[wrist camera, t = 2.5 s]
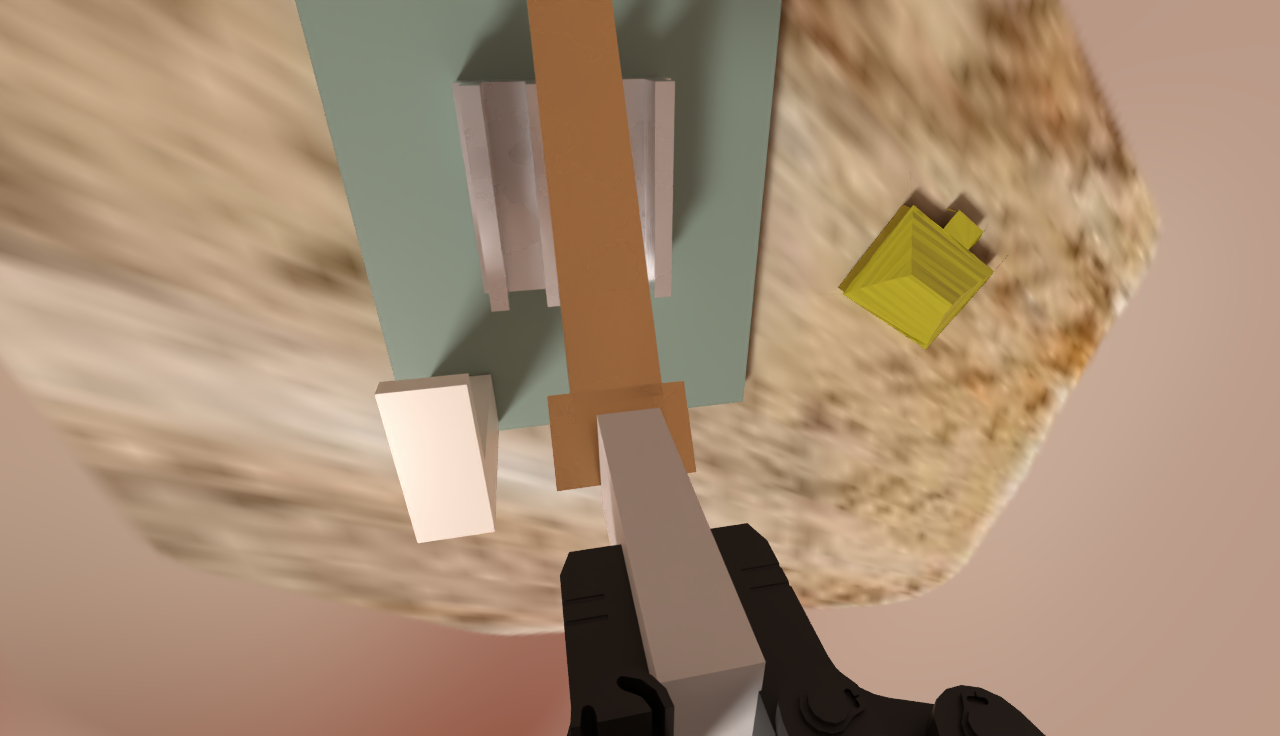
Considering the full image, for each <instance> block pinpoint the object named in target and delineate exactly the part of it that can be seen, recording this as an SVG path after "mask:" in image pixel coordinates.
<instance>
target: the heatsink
mask: <svg viewBox="0 0 1280 736" xmlns="http://www.w3.org/2000/svg"><path fill="white" fill-rule="evenodd" d="M622 81H623V89H624V97H625V104H626V112H627V120H628V127H629V135H630V143H631V150H632V158H633V166H634V173H635V181H636V189H637V196H638V204H639V212H640V219H641V227H642V235H643V242H644V250H645V258H646V265H647V273H648V281H649V289H650V291H651V292H652V294H653V296H654V298H658V297H670V296H671V268H672V214H673V160H674V107H675V81H671V78H666V77H661V76H642V77H622ZM452 89H453V95H454V101H455V108H456V114H457V120H458V127H459V133H460V140H461V146H462V152H463V159H464V165H465V171H466V178H467V184H468V190H469V197H470V203H471V209H472V216H473V222H474V228H475V235H476V241H477V248H478V254H479V260H480V267H481V273H482V279H483V286H484V292H485V294H487V293H489V298H490V304H491V311H492V312H495V311H506V310H510V292H512V291H524V290H537V289H545V291H546V298H547V306H548V307H553V306H560V299H559V290H558V281H557V272H556V263H555V254H554V245H553V236H552V227H551V218H550V209H549V199H548V190H547V181H546V172H545V163H544V154H543V145H542V136H541V127H540V118H539V109H538V100H537V91H536V81H535V79H494V80H456V81H454V82H452Z"/></svg>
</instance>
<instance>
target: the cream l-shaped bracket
mask: <svg viewBox="0 0 1280 736" xmlns="http://www.w3.org/2000/svg"><path fill="white" fill-rule="evenodd" d="M375 397H376V400H377V404H378V407H379V411H380V414H381V418H382V421H383V425H384V428H385V432H386V435H387V438H388V442H389V445H390V449H391V452H392V456H393V459H394V463H395V466H396V470H397V473H398V477H399V480H400V483H401V487H402V490H403V494H404V497H405V501H406V504H407V508H408V511H409V515H410V518H411V522H412V525H413V528H414V532H415V535H416V539H417V542H418V543H422V542H428V541H435V540H442V539H449V538H456V537H462V536H469V535H476V534H483V533H489V532H495V516H496V489H497V463H498V437H499V421H498V415H497V408H496V402H495V396H494V390H493V384H492V378H491V374H488V375H479V376H469V374H468V373H466V374H456V375H446V376H436V377H427V378H417V379H407V380H397V381H387V382H380V383H379V385H378V388H377V390H376V393H375Z"/></svg>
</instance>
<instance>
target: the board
mask: <svg viewBox="0 0 1280 736" xmlns="http://www.w3.org/2000/svg"><path fill="white" fill-rule="evenodd" d="M295 2H296V6H297V9H298V13H299V17H300V21H301V25H302V28H303V32H304V36H305V40H306V44H307V47H308V51H309V55H310V59H311V63H312V66H313V70H314V74H315V78H316V82H317V85H318V89H319V93H320V97H321V100H322V104H323V108H324V112H325V116H326V119H327V123H328V127H329V131H330V135H331V138H332V142H333V146H334V150H335V154H336V157H337V161H338V165H339V169H340V173H341V176H342V180H343V184H344V188H345V192H346V195H347V199H348V203H349V207H350V211H351V214H352V218H353V222H354V226H355V229H356V233H357V237H358V241H359V245H360V248H361V252H362V256H363V260H364V264H365V267H366V271H367V275H368V279H369V283H370V286H371V290H372V294H373V298H374V302H375V305H376V309H377V313H378V317H379V321H380V324H381V328H382V332H383V336H384V340H385V343H386V347H387V351H388V355H389V358H390V362H391V366H392V370H393V374H394V377H395V381H397V380H407V379H417V378H427V377H436V376H446V375H456V374H466V373H468V374H469V376H479V375H488V374H491V378H492V384H493V390H494V396H495V402H496V408H497V415H498V421H499V430H508V429H516V428H524V427H533V426H541V425H550V419H549V409H548V400H547V396H551V395H560V394H569V393H570V390H569V381H568V372H567V363H566V354H565V345H564V336H563V327H562V317H561V308H560V306H553V307H548V306H547V298H546V291H545V289H537V290H524V291H512V292H510V310H506V311H495V312H492V311H491V304H490V298H489V293H487V294H485V292H484V286H483V279H482V273H481V267H480V260H479V254H478V248H477V241H476V235H475V228H474V222H473V216H472V209H471V203H470V197H469V190H468V184H467V178H466V171H465V165H464V159H463V152H462V146H461V140H460V133H459V127H458V120H457V114H456V108H455V101H454V95H453V89H452V82H454V81H456V80H494V79H535V72H534V63H533V54H532V45H531V36H530V27H529V18H528V9H527V0H295ZM612 4H613V12H614V20H615V28H616V35H617V43H618V51H619V58H620V66H621V74H622V77H642V76H661V77H666V78H671V81H675V107H674V160H673V214H672V268H671V296H670V297H658V298H654V296H653V294H652V292H651V291H650V296H651V304H652V312H653V319H654V327H655V335H656V342H657V350H658V358H659V365H660V373H661V381H662V383H668V382H677V381H684V385H685V393H686V400H687V408H692V407H700V406H709V405H717V404H726V403H734V402H742V401H743V397H744V387H745V377H746V366H747V356H748V346H749V335H750V325H751V315H752V304H753V294H754V283H755V273H756V263H757V252H758V242H759V232H760V221H761V211H762V201H763V190H764V180H765V170H766V159H767V149H768V139H769V128H770V118H771V108H772V97H773V87H774V76H775V66H776V56H777V45H778V35H779V25H780V14H781V4H782V0H612Z"/></svg>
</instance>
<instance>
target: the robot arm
mask: <svg viewBox="0 0 1280 736" xmlns="http://www.w3.org/2000/svg"><path fill="white" fill-rule="evenodd" d="M597 425H598V442H599V458H600V475H601V492H602V506H603V511H604V516H605V521H606V526H607V531H608V537H609V542H610V546H606V547H600V548H593V549H587V550H580V551H574V552H569V554H568V557H567V559H566V562H565V564H564V567H563V569H562V572H561V574H560V582H561V593H562V605H563V617H564V629H565V641H566V653H567V664H568V676H569V688H570V700H571V723H570V726H569V730H568V734H567V736H1045V735H1044V734H1043V733H1042V732H1041V731H1040V730H1039V729H1038V728H1037V727H1036V726H1035V725H1034V724H1033V723H1032V722H1031V721H1030V720H1028V719H1027V718H1026V717H1025V716H1024V715H1023V714H1022V713H1021V712H1020V711H1019V710H1017V709H1016V708H1015V707H1014V706H1012V705H1011V704H1010V703H1008V702H1007V701H1006V700H1004V699H1003V698H1002V697H1000V696H998V695H995V694H993V693H991V692H989V691H987V690H984V689H982V688H979V687H972V686H964V685H960V686H956V687H953V688H949V689H946V690H945V691H944V692H943V693H942V694H941V695H940V696H939V697H938V698H937V699H936V702H935V704H929V703H922V702H915V701H908V700H901V699H893V698H888V697H883V696H880V695H876V694H873V693H871V692H868V691H866V690H864V689H862V688H860V687H859V686H858V685H857V684H856V683H854V682H853V681H852V680H850V679H849V678H848V677H846V676H845V675H843V674H842V673H841V672H840V671H839V670H838V669H837V668H836V667H835V666H834V664H833V663H832V661H831V660H830V658H829V657H828V655H827V653H826V651H825V649H824V648H823V646H822V644H821V642H820V640H819V638H818V636H817V634H816V632H815V631H814V629H813V627H812V625H811V624H810V621H809V619H808V617H807V616H806V613H805V611H804V610H803V608H802V606H801V604H800V602H799V600H798V598H797V596H796V594H795V592H794V591H793V589H792V587H791V586H789V581H788V579H787V577H786V575H785V573H784V572H783V570H782V568H781V567H780V566H779V562H778V560H777V558H776V556H775V554H774V552H773V551H772V549H771V547H770V545H769V543H768V541H767V540H766V539H765V538H764V537H762V536H761V535H760V534H759V533H758V532H757V531H756V530H755V529H753V528H752V527H751V526H750V525H749V524H748V523H745V524H739V525H732V526H726V527H719V528H713V529H710V527H709V525H708V523H707V520H706V518H705V515H704V513H703V511H702V508H701V506H700V503H699V501H698V499H697V496H696V494H695V491H694V489H693V487H692V484H691V482H690V479H689V477H688V475H687V472H686V470H685V467H684V465H683V463H682V460H681V458H680V455H679V453H678V451H677V448H676V446H675V443H674V441H673V438H672V436H671V434H670V431H669V429H668V426H667V424H666V422H665V419H664V417H663V414H662V412H661V410H660V408H653V409H644V410H636V411H627V412H618V413H610V414H601V415H597Z"/></svg>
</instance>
